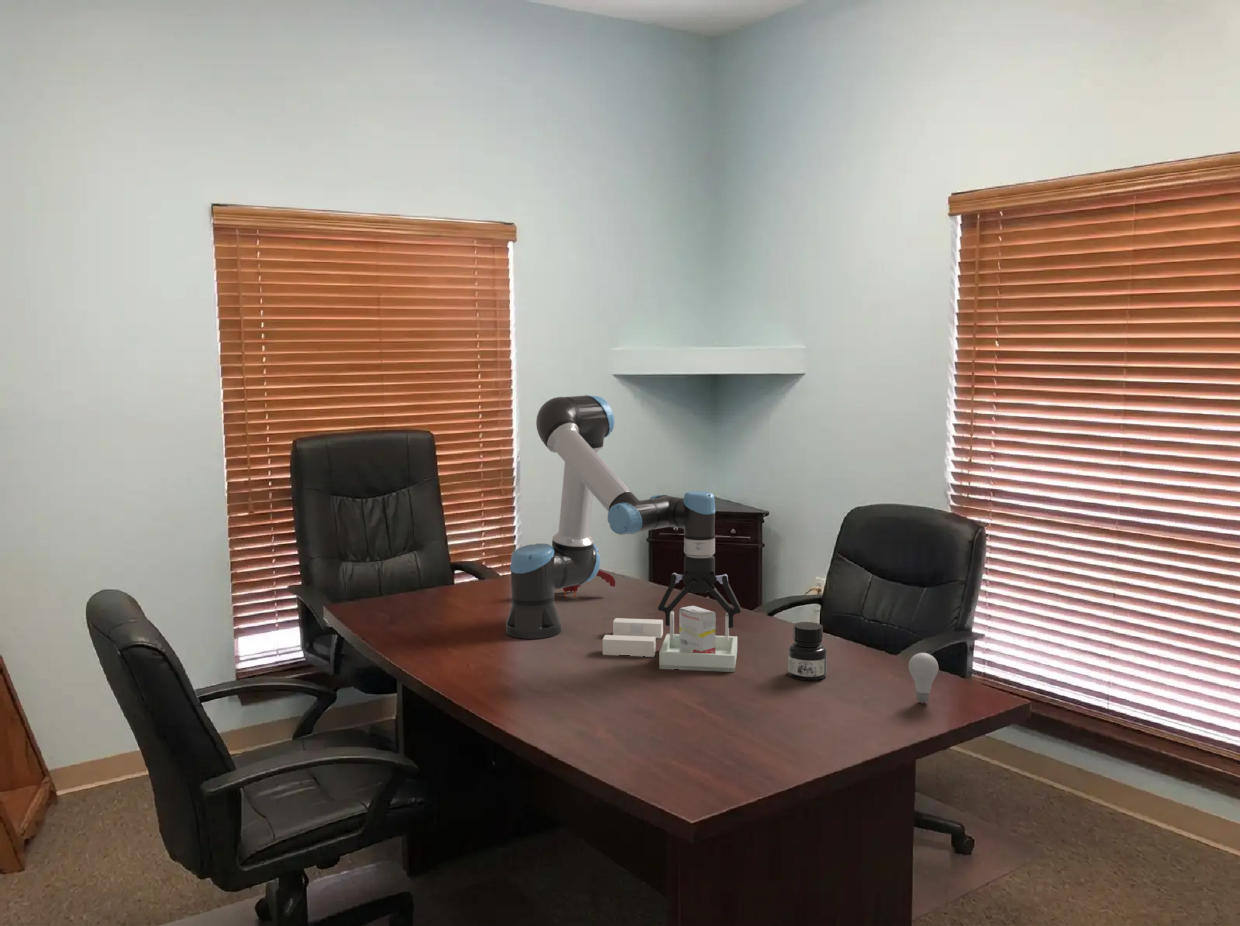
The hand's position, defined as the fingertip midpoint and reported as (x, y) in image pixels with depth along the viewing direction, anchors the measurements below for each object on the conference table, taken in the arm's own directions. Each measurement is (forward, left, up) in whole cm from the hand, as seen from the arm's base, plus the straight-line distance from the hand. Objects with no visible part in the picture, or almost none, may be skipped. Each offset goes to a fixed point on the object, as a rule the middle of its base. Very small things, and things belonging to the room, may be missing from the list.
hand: (699, 639), depth 239 cm
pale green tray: (0, 0, -5) cm, 5 cm away
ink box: (0, 0, -4) cm, 4 cm away
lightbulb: (+50, -23, -5) cm, 55 cm away
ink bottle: (+26, -8, -5) cm, 28 cm away
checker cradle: (-18, +11, -5) cm, 22 cm away
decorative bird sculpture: (-45, +58, -5) cm, 74 cm away
